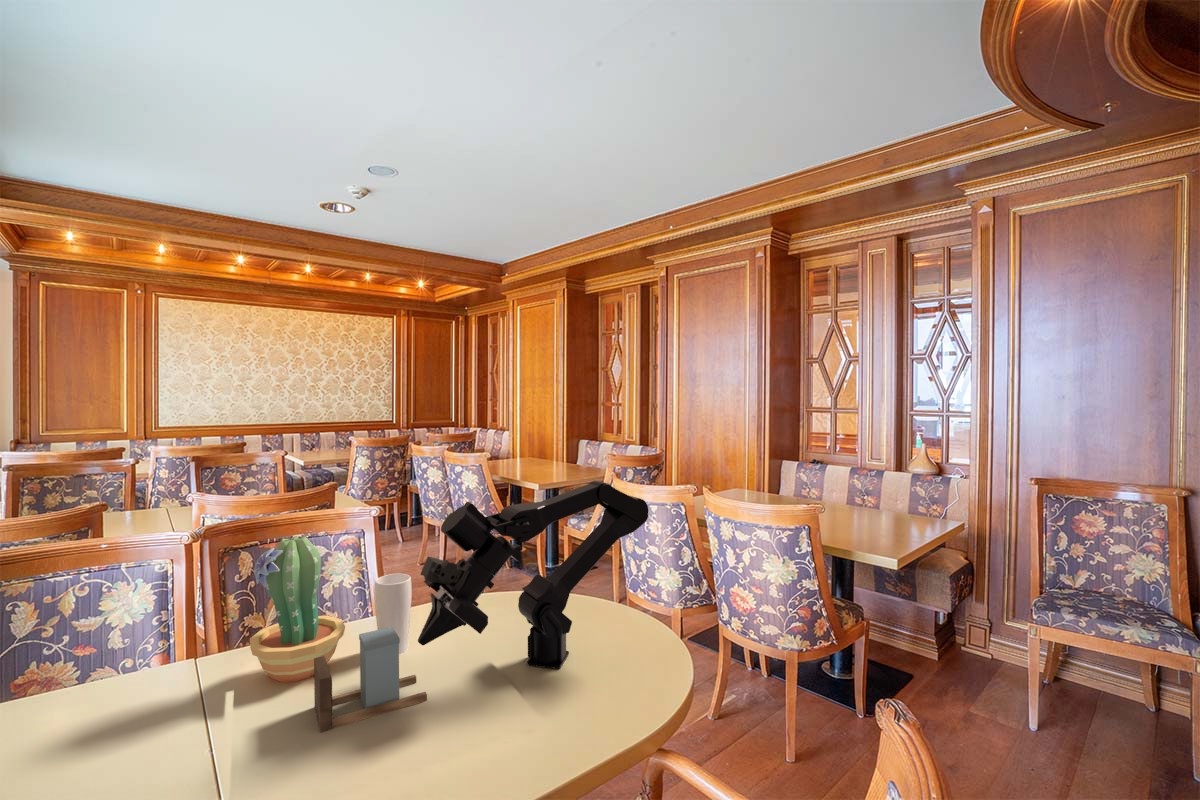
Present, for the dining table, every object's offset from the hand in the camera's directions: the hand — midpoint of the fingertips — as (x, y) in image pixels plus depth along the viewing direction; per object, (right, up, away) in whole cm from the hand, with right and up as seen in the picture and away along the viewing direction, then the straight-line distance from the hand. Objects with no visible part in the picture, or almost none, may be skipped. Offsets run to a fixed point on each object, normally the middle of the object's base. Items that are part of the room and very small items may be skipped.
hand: (420, 643), depth 94 cm
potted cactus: (-24, -9, +7) cm, 27 cm away
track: (-7, -9, -4) cm, 12 cm away
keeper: (-5, -8, -3) cm, 10 cm away
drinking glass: (-10, -9, +15) cm, 20 cm away
